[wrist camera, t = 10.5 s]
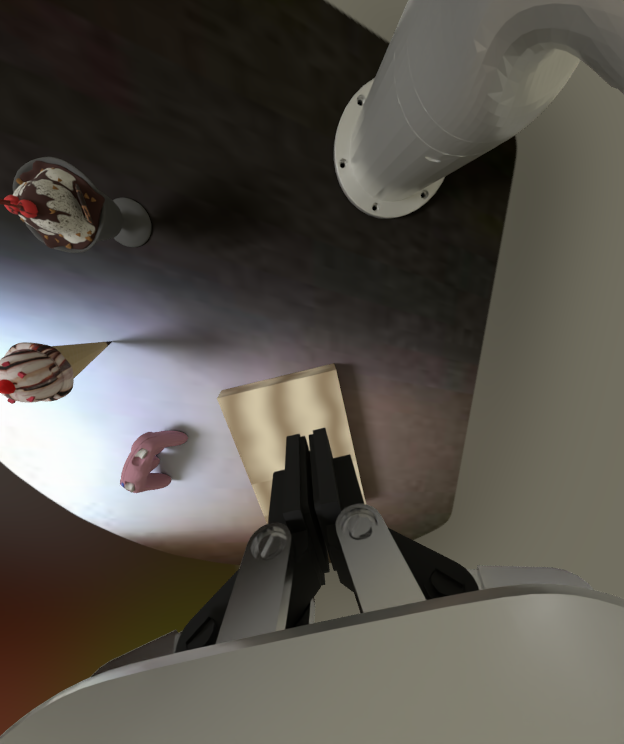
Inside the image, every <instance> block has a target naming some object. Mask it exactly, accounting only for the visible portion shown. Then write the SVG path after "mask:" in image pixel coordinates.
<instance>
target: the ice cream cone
mask: <svg viewBox="0 0 624 744" xmlns="http://www.w3.org/2000/svg"><path fill="white" fill-rule="evenodd" d="M111 342H112V341H110V342H98V343H87V344H75V345H63V346H48V345H43V344H37V343H18V344H16V345H14V346H12V347H11V348H10V349H9V351H8V352H7V353H6V355H5V356H4V357H3V358H2V359H1V360H0V393H2V394H3V395H4V396H6V397H8V398H9V399H8V402H10V403H12V404H13V403H15V401H20V402H38V401H54V400H57V399H60V398H62V397H64V396H66V395H67V394H68V393H70V392H71V390H72V388H73V379H74V378H75V377H76V376H77V375H78V374H79V373H80V372H81V371H82V370H83V369H84V368H85V367H86V366H87V365H88V364H89V363H90V362H91V361H93V360H94V359H95V358H96V357H97V356H98V355H99V354H100V353H101V352H102V351H103V350H104V349H105V348H106V347H107V346H108V345H109V344H110V343H111Z"/></svg>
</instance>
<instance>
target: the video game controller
mask: <svg viewBox="0 0 624 744" xmlns="http://www.w3.org/2000/svg"><path fill="white" fill-rule="evenodd" d="M187 440H188V437H187V435H186V434H184V433H182V432H179V431H161V432H155V433H153V432H147V433H145V434H143V435H141V436H140V437H139V438H138V439H137V440H136V441H135V442H134V443H133V445H132V448H131V453H130V454H129V456H128V458H127V460H126V462H125V464H124V467H123V470H122V475H121V480H120V485H121V486H123V487H124V488H125V489H126V490H128V491H131V492H134V493H139V492H143V491H147V490H155V489H160V488H164V487H166V486H168V485H169V484H170V483H171V478H170V476H168V475H166V474H161V473H150V472H151V471H152V470H153V469H155V468H156V467H157V466H158V464H159V462H160V459H159V458H158V457H156V456H155V455H157V454H159V453H160V452H161V451H162V450H163V449H164V448H165V447H170V446H177V445H181V444H183V443H185V442H186V441H187Z"/></svg>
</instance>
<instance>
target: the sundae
mask: <svg viewBox="0 0 624 744" xmlns="http://www.w3.org/2000/svg"><path fill="white" fill-rule="evenodd" d="M13 192H14V194H13V195H9V196H7V197H5V199H0V204H4V205H5V207H6V208H7V209H8V210H9V211H10V212H12V213H14V214H18V215H19V216H20V217H21V218H20V219H21V220H22V221H24V222H25V223H26V225H27V227H28V228H29V229H30V231H31V232H32V233H33V234H34V235H35V236H36V237H37V238H38V239H39V240H40V241H42V242H43V243H45V244H46V245H47V246H48V247H49V248H52V249H57V250H61V251H65V252H70V253H80V252H85V251H87V250H89V249H90V248H91V247H92V246H93V245H94V244H95V243H96V242H97V241H102V240H107V239H111V238H114V239H115V240H116V241H118V242H119V243H121V244H123V245H125V246H128V247H138V246H141V245H143V244H144V243H145V242H147V241H148V239H149V237H150V234H151V221H150V218H149V216H148V213H147V212H146V211H145V209H144V208H143V207H142V206H141V205H140V204H139V203H137V202H136V201H134V200H132V199H129V198H118V199H115V200H111V199H110V198H109V197H108V196H106V195H105V194H104V193H102V192H101V191H99V190H98V189H97V188H96V187H95V185H94V184H93V183H92V182H91V181H90V180H89V179H88V178H87V177H86V176H85V175H84V174H83V173H82V172H81V171H79V170H78V169H77V168H75V167H74V166H72V165H71V164H69V163H67V162H66V161H63V160H61V159H58V158H53V157H43V158H38V159H35V160H32V161H29V162H28V163H26V164H25V165H23V166H22V167H21V168H20V169H19V170H18V171H17V174H16V176H15V178H14V183H13Z"/></svg>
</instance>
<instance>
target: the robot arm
mask: <svg viewBox="0 0 624 744" xmlns="http://www.w3.org/2000/svg"><path fill="white" fill-rule="evenodd" d="M580 60H582V61H583V62H584V63H585V64H587V65H588V66H589V67H590V68H591V69H593V70H594V71H595V72H596V73H597V74H598V75H599V76H600V77H601V78H602V79H603V80H605V82H607V83H608V84H609V85H610V86H611V87H614V88H617V89H619V90H620V91H621V92H622V93H623V94H624V0H409V1H408V3H407V5H406V7H405V10H404V12H403V14H402V17H401V19H400V21H399V23H398V26H397V28H396V31H395V33H394V35H393V37H392V40H391V42H390V44H389V47H388V49H387V51H386V54H385V56H384V58H383V61H382V63H381V65H380V68H379V70H378V72H377V75H376V77H375V78H374V79H372V80H371V81H370V82H368V83H367V84H365V85H364V86H363V87H362V88H361V89H360V90H359V91H358V92H357V93H356V94H355V95H354V96H353V97H352V99H351V100H350V102H349V103H348V105H347V106H346V108H345V110H344V112H343V115H342V117H341V119H340V122H339V125H338V128H337V132H336V137H335V143H334V164H335V171H336V175H337V178H338V181H339V184H340V186H341V188H342V190H343V192H344V194H345V195H346V196H347V198H348V199H349V200H350V202H351V203H352V204H353V205H354V206H356V207H357V208H358V209H359V210H360V211H362V212H364V213H366V214H368V215H370V216H373V217H377V218H385V219H390V218H397V217H401V216H404V215H407V214H409V213H411V212H413V211H415V210H417V209H418V208H420V207H421V206H422V205H424V204H425V203H426V202H427V201H428V200H429V199H430V198H431V197H432V196H433V195H434V194H435V193H436V191H437V190H438V188H439V187H440V185H441V184H442V182H443V180H444V178H445V176H447V175H448V174H450V173H452V172H453V171H455V170H457V169H459V168H460V167H462V166H464V165H466V164H467V163H469V162H471V161H472V160H474V159H476V158H478V157H479V156H481V155H483V154H485V153H486V152H488V151H490V150H491V149H493V148H495V147H496V146H498V145H499V144H501V143H503V142H505V141H506V140H508V139H510V138H511V137H513V136H514V135H516V134H517V133H519V132H520V131H522V130H523V129H524V128H526V127H527V126H528V125H529V124H530V123H532V122H533V121H534V120H535V119H536V118H537V117H538V116H539V115H540V114H541V113H542V112H543V111H544V110H545V109H546V108H547V107H548V106H549V105H550V104H551V103H552V101H553V100H554V99H555V97H556V96H557V95H558V94H559V92H560V91H561V89H562V88H563V87H564V86H565V84H566V83H567V81H568V80H569V78H570V77H571V75H572V74H573V72H574V70H575V69H576V67H577V65H578V63H579V62H580ZM358 102H360V103H361V104H362V106H359V105H358ZM341 163H342V164H344V168H341V167H340V164H341ZM421 194H423V198H421ZM373 206H375V207H376V210H375V211H374V210H373V209H372V207H373ZM309 448H310V451H309ZM327 550H328V552H327ZM328 553H329V557H330V560H331V563H332V566H333V569H334V571H336V570H337V573H338V576H339V579H340V582H341V583H342V584H343V585H344V586H346V587H347V588H349V589H350V590H351V591H353V592H354V594H355V598H356V601H357V604H358V607H359V610H360V614H356V615H351V616H347V617H342V618H337V619H333V620H328V621H323V622H318V623H314V617H315V598H314V596H315V595H316V593H317V592H318V590H319V589H320V587H321V585H325V577H324V573H327V572H329V561H328ZM0 744H624V598H620V597H618V596H614V595H611V594H608V593H604V592H600V591H595V590H594V589H593V588H592V587H591V586H590V585H589V584H588V583H587V582H586V581H584V580H583V579H582V578H580V577H579V576H577V575H575V574H573V573H571V572H569V571H566V570H563V569H558V568H548V567H547V568H546V567H514V566H480V565H478V566H477V569H466V568H464V567H463V566H461V565H460V564H458V563H457V562H455V561H453V560H451V559H449V558H447V557H444V556H443V555H441V554H439V553H437V552H435V551H433V550H431V549H429V548H427V547H425V546H423V545H421V544H419V543H417V542H415V541H413V540H411V539H409V538H407V537H405V536H403V535H401V534H399V533H397V532H395V531H393V530H391V529H389V528H387V526H386V524H385V522H384V520H383V519H382V517H381V515H380V514H379V512H378V511H377V510H376V509H375V508H373V507H372V506H369V505H366V504H364V500H363V497H362V493H361V490H360V486H359V483H358V479H357V476H356V472H355V469H354V465H353V462H352V458H351V455H350V454H349V455H345V456H341V457H336V458H333V455H332V451H331V447H330V443H329V440H328V436H327V432H326V428H321V429H316V430H313V434H310V435H309V447H308V444H307V440H306V437H305V436H302V437H301V436H300V434H295V435H291V436H287V437H286V454H285V469H284V470H280V471H275V472H274V473H273V479H272V488H271V498H270V507H269V516H268V524H266V525H264V526H262V527H261V528H259V529H258V530H257V531H256V532H255V533H254V534H253V535H252V536H251V538H250V540H249V542H248V544H247V547H246V550H245V553H244V556H243V559H242V562H241V565H240V569H239V570H238V571H237V572H236V573H235V574H234V575H233V576H232V577H231V578H230V579H229V580H228V581H227V582H226V583H225V584H224V585H223V586H222V587H221V589H220V590H219V591H218V592H217V593H216V594H215V595H214V596H213V597H212V598H211V599H210V600H209V601H208V602H207V603H206V604H205V605H204V607H203V608H202V609H201V610H200V611H199V612H198V613H197V614H196V615H195V616H194V617H193V618H192V619H191V620H190V622H189V623H188V624H187V625H186V627H185V628H184V630H183V631H182V632H180V633H178V632H177V631H176V630H174V631H173V632H170V633H168V634H166V635H164V636H162V637H160V638H158V639H156V640H153V641H151V642H149V643H147V644H145V645H143V646H141V647H139V648H136V649H134V650H132V651H130V652H128V653H126V654H124V655H122V656H120V657H118V658H115V659H113V660H111V661H109V662H108V663H106V664H105V665H103V666H102V667H100V668H99V669H98V670H97V671H96V672H95V673H94V674H93V675H92V676H91V677H90V678H88V679H86V680H84V681H82V682H80V683H78V684H76V685H74V686H72V687H70V688H68V689H66V690H64V691H62V692H60V693H58V694H57V695H55V696H54V697H52V698H50V699H49V700H47V701H46V702H44V703H43V704H41V705H40V706H38V707H36V708H35V709H33V710H32V711H31V712H29V713H28V714H27V715H25V716H24V717H23V718H21V719H20V720H19V721H18V722H16V723H15V724H14V725H13V726H12V727H10V728H9V729H8V730H6V732H4V733H3V734H2V736H0Z"/></svg>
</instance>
